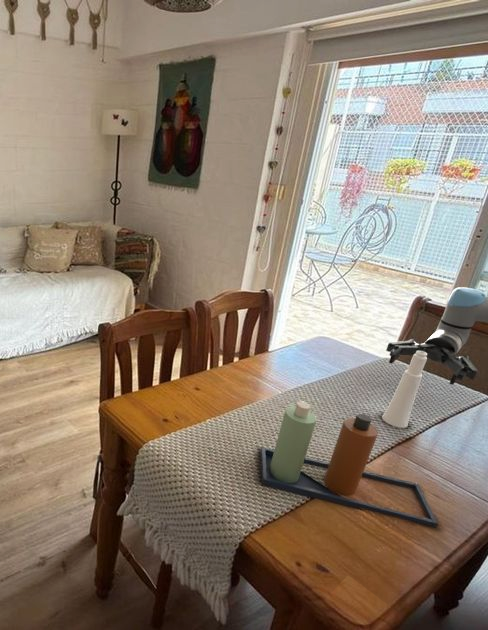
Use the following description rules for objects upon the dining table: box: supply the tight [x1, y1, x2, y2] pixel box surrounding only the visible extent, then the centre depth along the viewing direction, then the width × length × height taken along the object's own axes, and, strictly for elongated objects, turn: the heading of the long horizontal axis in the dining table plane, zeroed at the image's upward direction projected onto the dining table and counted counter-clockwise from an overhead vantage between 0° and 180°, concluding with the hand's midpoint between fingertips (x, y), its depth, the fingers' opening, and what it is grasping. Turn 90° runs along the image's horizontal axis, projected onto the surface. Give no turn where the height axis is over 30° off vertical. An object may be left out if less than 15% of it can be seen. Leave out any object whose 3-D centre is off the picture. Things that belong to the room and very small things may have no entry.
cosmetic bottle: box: [381, 351, 428, 429], centre depth 113 cm, size 6×6×22 cm
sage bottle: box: [270, 400, 318, 483], centre depth 95 cm, size 6×6×18 cm
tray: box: [259, 446, 439, 528], centre depth 95 cm, size 32×11×2 cm, turn 70°
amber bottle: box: [323, 412, 379, 497], centre depth 91 cm, size 6×6×18 cm
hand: (421, 369), depth 117 cm, fingers open, 13 cm apart
